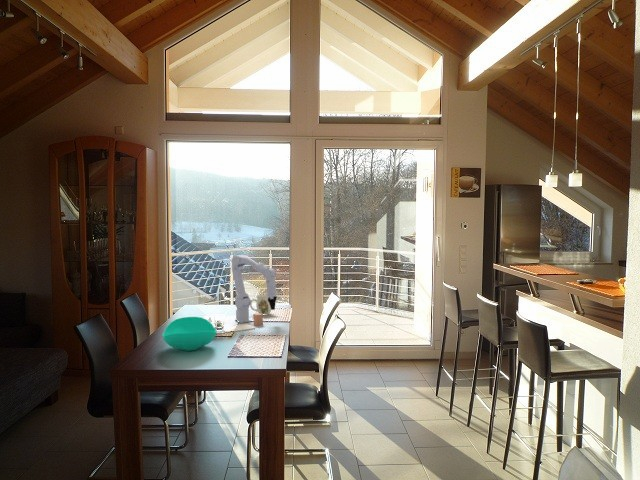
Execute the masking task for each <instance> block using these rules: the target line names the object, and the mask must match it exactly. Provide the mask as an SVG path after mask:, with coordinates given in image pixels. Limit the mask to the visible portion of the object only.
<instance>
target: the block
mask: <svg viewBox="0 0 640 480" xmlns="http://www.w3.org/2000/svg"><path fill="white" fill-rule="evenodd" d="M263 316H264V315H263V314H261V313H258V312H257V313H253V317H252V319H253V325H254V326H255V327H259V326H263V325H264V317H263Z"/></svg>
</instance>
